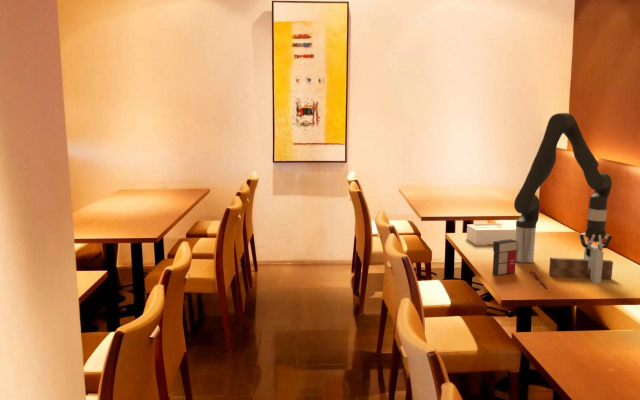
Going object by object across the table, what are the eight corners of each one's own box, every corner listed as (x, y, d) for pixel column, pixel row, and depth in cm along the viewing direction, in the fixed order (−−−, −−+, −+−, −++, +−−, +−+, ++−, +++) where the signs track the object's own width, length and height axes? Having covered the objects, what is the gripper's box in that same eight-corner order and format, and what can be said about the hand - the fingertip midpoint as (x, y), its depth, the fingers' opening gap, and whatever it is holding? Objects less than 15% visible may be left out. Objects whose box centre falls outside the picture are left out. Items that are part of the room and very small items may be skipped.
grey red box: (498, 275, 265) (500, 243, 263) (491, 273, 269) (493, 241, 267) (516, 272, 270) (518, 241, 268) (509, 270, 274) (511, 239, 272)
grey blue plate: (600, 283, 255) (603, 252, 253) (594, 283, 256) (597, 251, 253) (588, 271, 273) (590, 242, 271) (582, 271, 273) (585, 242, 271)
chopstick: (544, 290, 247) (545, 287, 247) (529, 273, 271) (529, 271, 271) (549, 290, 247) (549, 288, 247) (534, 273, 271) (534, 271, 271)
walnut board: (550, 276, 266) (551, 258, 264) (548, 274, 268) (550, 257, 267) (611, 279, 262) (613, 261, 260) (609, 277, 264) (611, 260, 263)
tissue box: (519, 244, 325) (520, 225, 324) (475, 245, 323) (476, 225, 321) (508, 238, 339) (509, 220, 338) (466, 239, 337) (467, 220, 335)
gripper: (582, 219, 257) (578, 258, 260) (616, 221, 255) (613, 259, 258) (577, 216, 264) (574, 253, 267) (610, 217, 262) (607, 255, 265)
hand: (593, 256), depth 263 cm, fingers open, 3 cm apart
